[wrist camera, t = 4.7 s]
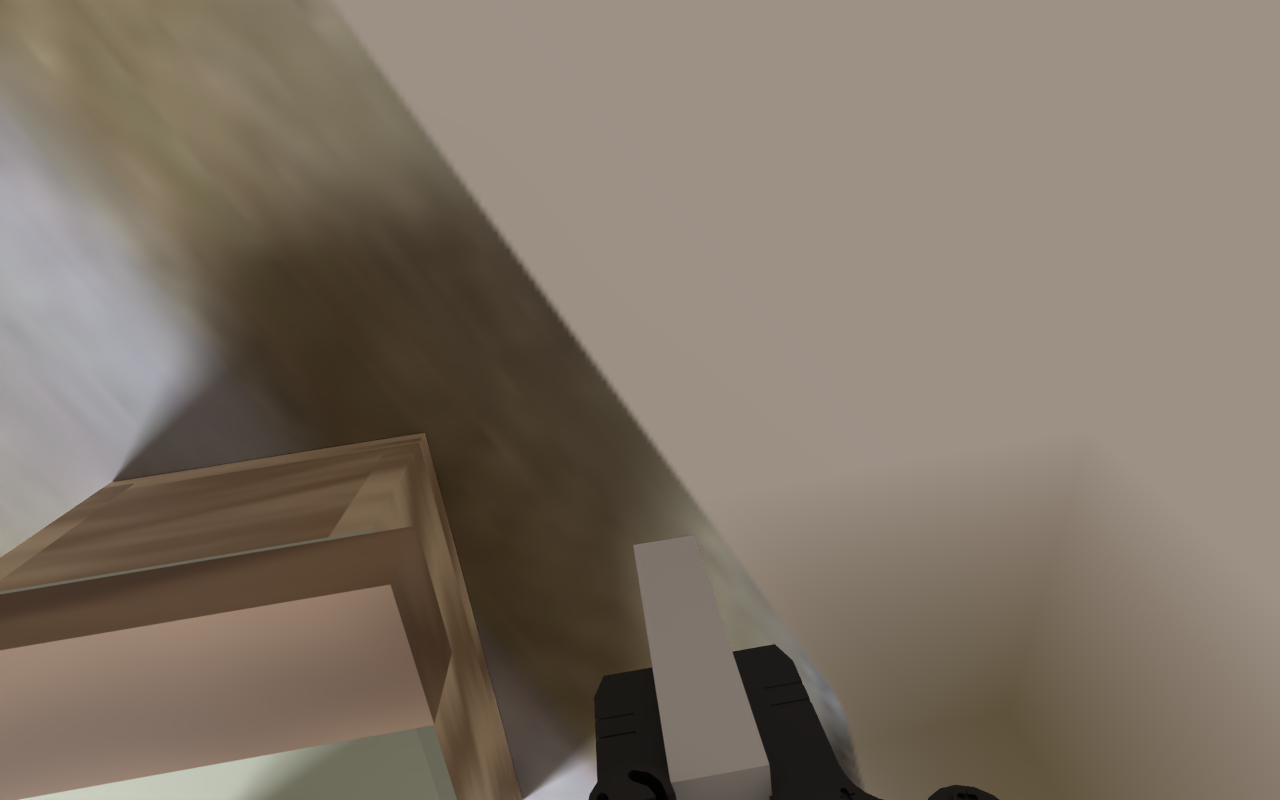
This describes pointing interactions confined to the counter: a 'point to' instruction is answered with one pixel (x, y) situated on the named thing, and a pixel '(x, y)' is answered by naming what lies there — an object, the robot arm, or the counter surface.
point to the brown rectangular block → (217, 662)
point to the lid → (295, 762)
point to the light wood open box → (284, 514)
